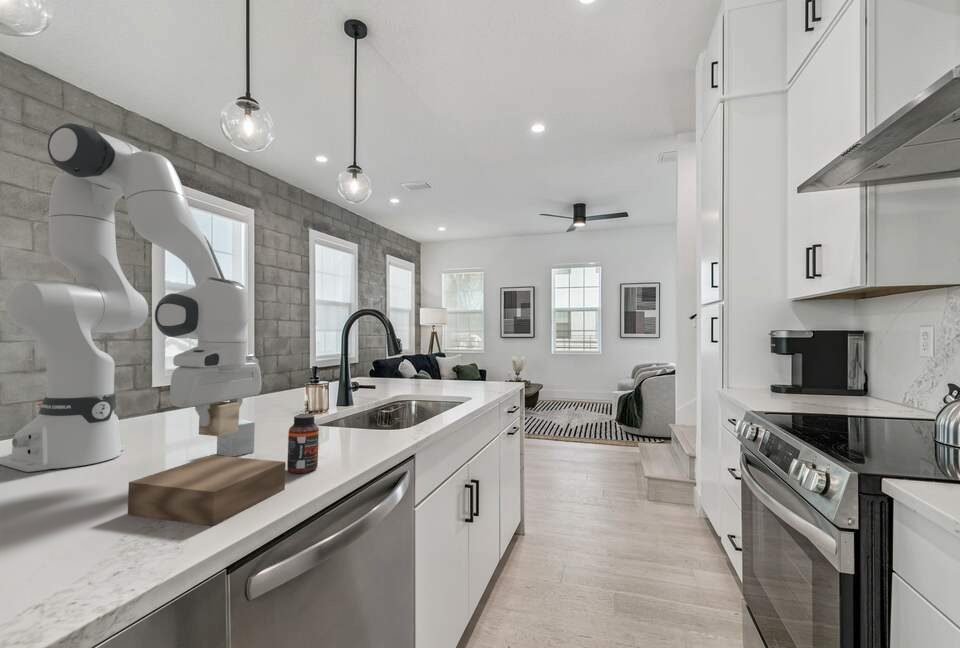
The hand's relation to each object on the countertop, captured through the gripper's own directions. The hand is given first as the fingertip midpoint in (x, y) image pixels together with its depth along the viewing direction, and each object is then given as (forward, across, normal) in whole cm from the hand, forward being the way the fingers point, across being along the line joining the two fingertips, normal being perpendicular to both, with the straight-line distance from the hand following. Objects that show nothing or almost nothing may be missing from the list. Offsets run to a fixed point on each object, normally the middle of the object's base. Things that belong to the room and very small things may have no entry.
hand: (219, 422), depth 91 cm
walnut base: (+10, +14, +13) cm, 21 cm away
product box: (+10, -12, -6) cm, 17 cm away
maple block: (+2, 0, 0) cm, 2 cm away
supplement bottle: (+10, -5, +17) cm, 20 cm away
